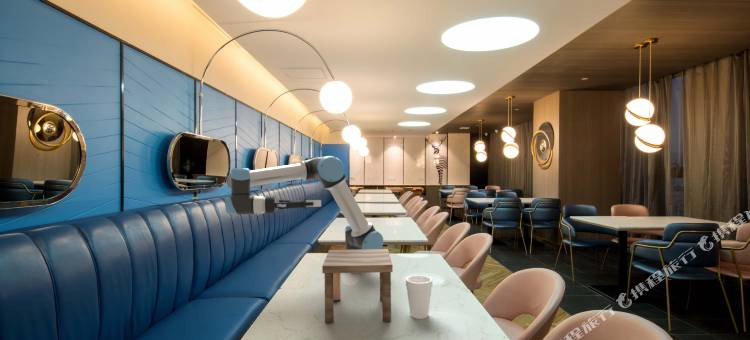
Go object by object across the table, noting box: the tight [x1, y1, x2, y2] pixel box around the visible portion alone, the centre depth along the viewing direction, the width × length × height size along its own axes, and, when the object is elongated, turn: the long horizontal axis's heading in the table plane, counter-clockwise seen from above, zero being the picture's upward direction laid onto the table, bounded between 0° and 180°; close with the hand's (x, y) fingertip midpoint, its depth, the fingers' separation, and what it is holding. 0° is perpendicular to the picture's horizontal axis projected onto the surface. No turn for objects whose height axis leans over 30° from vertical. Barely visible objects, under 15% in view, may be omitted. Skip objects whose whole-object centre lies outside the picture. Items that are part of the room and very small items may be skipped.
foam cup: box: [405, 274, 433, 320], centre depth 129 cm, size 10×9×13 cm
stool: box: [321, 248, 394, 325], centre depth 135 cm, size 24×24×20 cm
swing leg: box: [333, 273, 341, 301], centre depth 136 cm, size 20×3×16 cm, turn 179°
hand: (321, 203), depth 157 cm, fingers closed
